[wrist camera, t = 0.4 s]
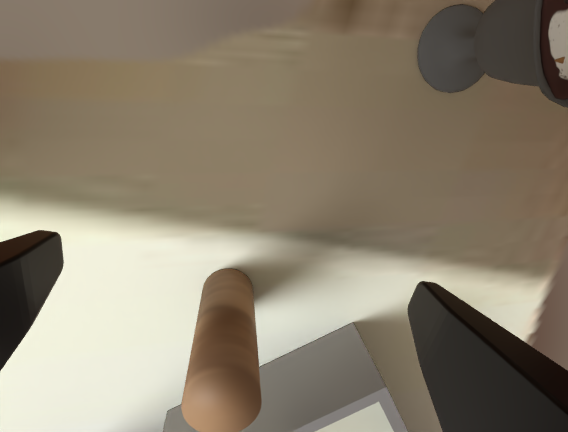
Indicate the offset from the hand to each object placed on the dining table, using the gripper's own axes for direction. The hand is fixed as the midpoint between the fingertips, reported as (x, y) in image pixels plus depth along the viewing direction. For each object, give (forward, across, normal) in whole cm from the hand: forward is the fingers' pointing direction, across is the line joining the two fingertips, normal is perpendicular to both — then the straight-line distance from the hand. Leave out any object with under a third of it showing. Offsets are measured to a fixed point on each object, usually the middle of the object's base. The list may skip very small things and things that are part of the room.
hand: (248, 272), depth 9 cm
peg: (+13, 0, +11) cm, 17 cm away
